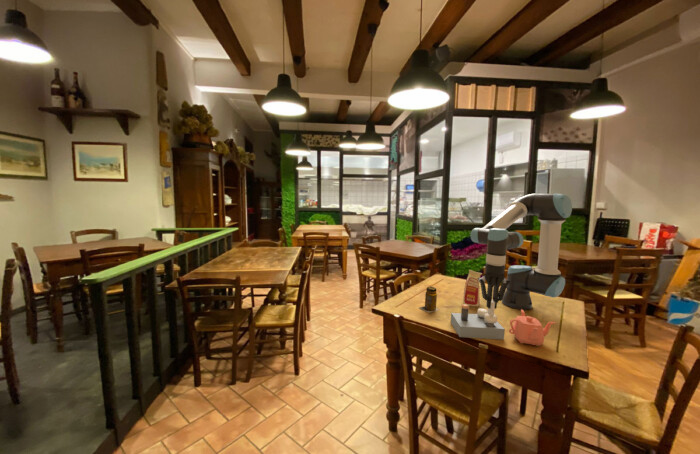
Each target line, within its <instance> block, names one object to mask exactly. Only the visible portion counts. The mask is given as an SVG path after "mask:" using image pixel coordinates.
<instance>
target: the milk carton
mask: <svg viewBox="0 0 700 454" xmlns="http://www.w3.org/2000/svg"><path fill="white" fill-rule="evenodd" d="M481 275H483V273H482V272H477V271H474V270H472V269H468V274H467V278H466V281H465V284H464V288H463V299H462V300H463V301H462V304H467V305H469V307H477V308H479V306H480V304H481V303H480V302H481V301H480V289H481V286H480V282H479V280H478V278H481Z"/></svg>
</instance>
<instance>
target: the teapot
mask: <svg viewBox="0 0 700 454" xmlns="http://www.w3.org/2000/svg"><path fill="white" fill-rule="evenodd" d="M556 323H557V322H555V321H548V322H547V323H546V325H545V327H543V325H542V323H541V322H540V320H538V319H537V318H536V317H533V316H530V315H527V316H526V312H525V310H522V309H520V315H517V316H516V318H513V319H511V320H510V321H509V326H510V329H509V330H508V331H509V334H512V335H513V336H514V338H515V339H516V340H517V341H518V343H519V342H520V343H519V344H521V343H525V344H526V345H527V344H528V345H533V346H534V345H539V346H543V344H544V342H545V337H546V336H547V335H548V334H549V333H550V329H551V326H552V325H554V324H556Z"/></svg>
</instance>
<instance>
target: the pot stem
mask: <svg viewBox="0 0 700 454" xmlns="http://www.w3.org/2000/svg"><path fill="white" fill-rule="evenodd" d="M460 308H461V310H460V311H461V312H460V313H461V320H462V321H468V314H469V310H470V306H469V305H467V304H463V303H461V306H460Z"/></svg>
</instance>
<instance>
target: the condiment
mask: <svg viewBox="0 0 700 454" xmlns="http://www.w3.org/2000/svg"><path fill="white" fill-rule="evenodd" d="M425 291H426V292H425V293H424V295H425V296H424V297H425V298H424V306H420V307H419V309H420V310H422V311H424V312H426V313H428V314H429V313H434V312H437V311H439V310H440V309H439V308H437V298H438V297H437V296H438V293H437V288H436V287H434V286H427V287H426V290H425Z"/></svg>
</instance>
